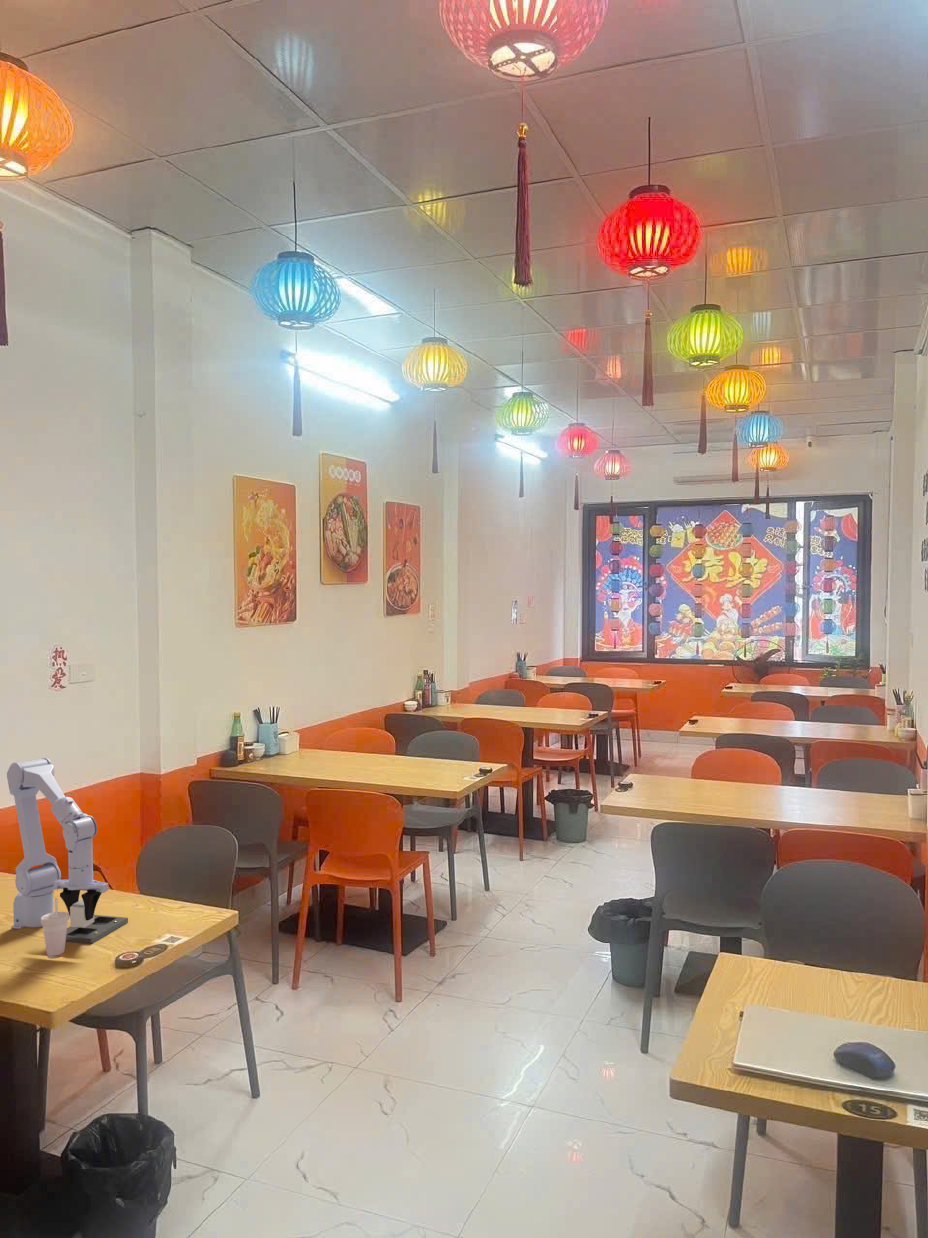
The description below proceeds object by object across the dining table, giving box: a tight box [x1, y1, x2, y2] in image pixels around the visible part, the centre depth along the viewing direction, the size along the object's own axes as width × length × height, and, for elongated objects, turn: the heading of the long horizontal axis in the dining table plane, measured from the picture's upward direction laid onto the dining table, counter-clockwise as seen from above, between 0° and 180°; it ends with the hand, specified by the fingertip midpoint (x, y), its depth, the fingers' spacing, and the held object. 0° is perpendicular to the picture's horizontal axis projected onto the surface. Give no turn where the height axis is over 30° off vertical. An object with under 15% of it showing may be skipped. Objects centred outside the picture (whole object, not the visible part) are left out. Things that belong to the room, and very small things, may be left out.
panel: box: [65, 914, 129, 945], centre depth 227 cm, size 11×15×2 cm
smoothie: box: [41, 898, 70, 959], centre depth 213 cm, size 6×6×14 cm
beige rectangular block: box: [69, 899, 94, 928], centre depth 223 cm, size 4×4×6 cm
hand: (81, 918), depth 223 cm, fingers closed on beige rectangular block, 4 cm apart
